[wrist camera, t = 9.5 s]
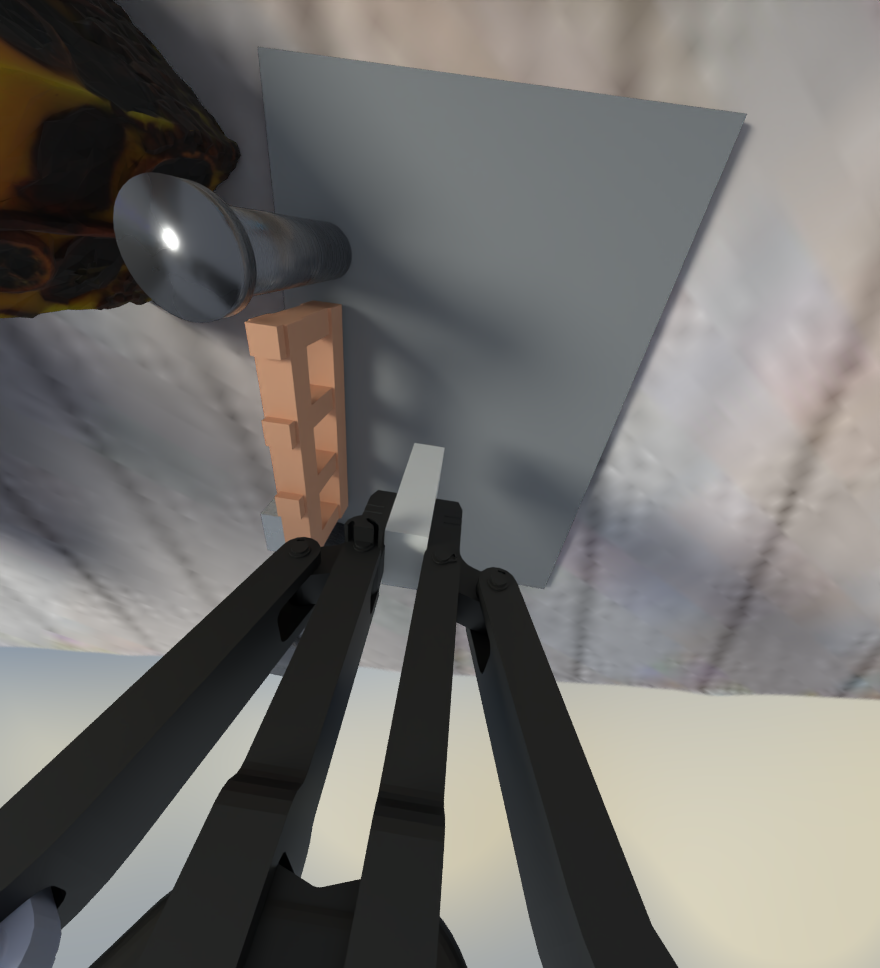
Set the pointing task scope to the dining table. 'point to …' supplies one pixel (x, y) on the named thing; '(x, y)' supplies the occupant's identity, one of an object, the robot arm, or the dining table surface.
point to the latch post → (274, 542)
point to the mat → (489, 273)
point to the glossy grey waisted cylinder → (217, 248)
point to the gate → (304, 413)
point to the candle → (85, 149)
